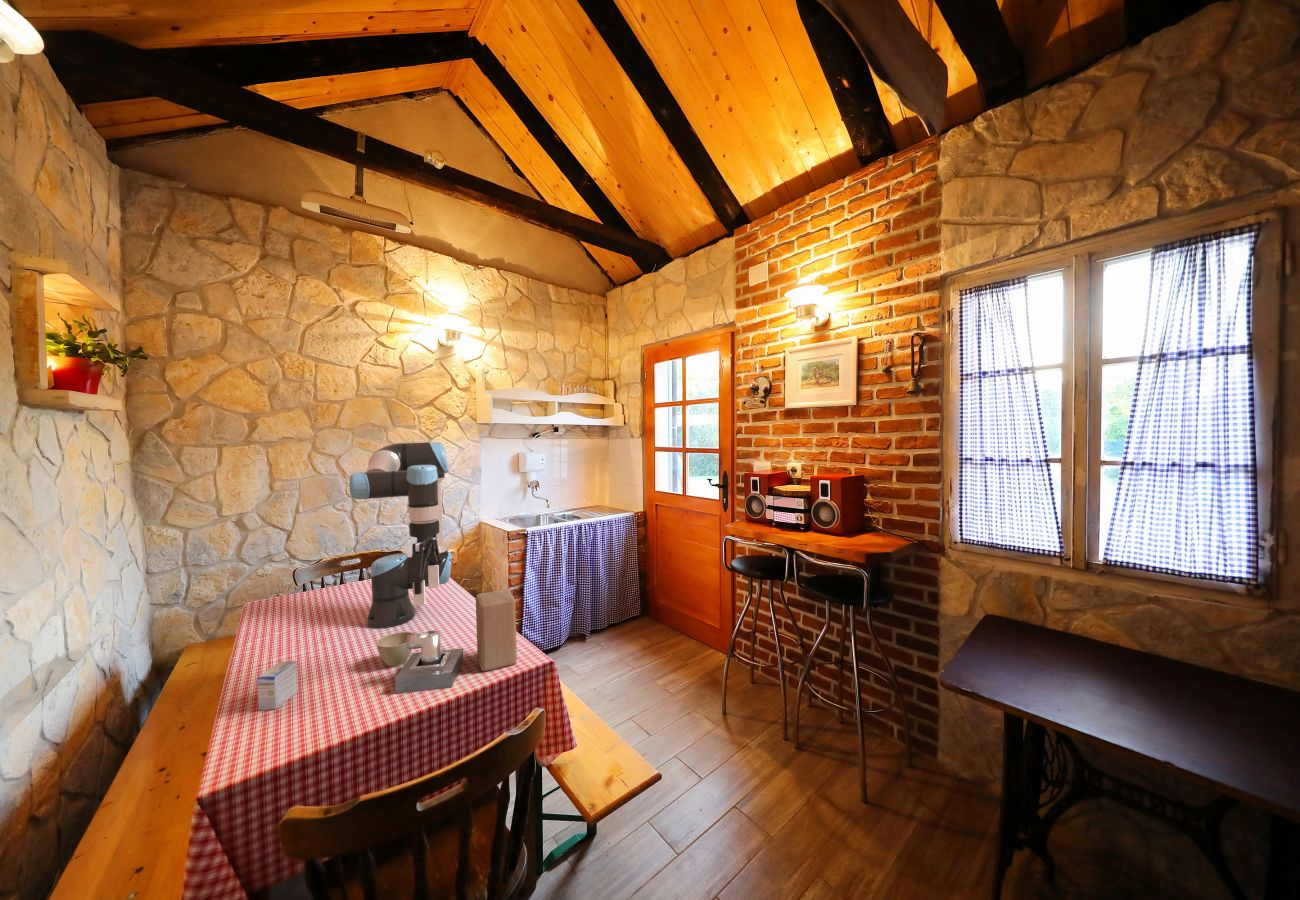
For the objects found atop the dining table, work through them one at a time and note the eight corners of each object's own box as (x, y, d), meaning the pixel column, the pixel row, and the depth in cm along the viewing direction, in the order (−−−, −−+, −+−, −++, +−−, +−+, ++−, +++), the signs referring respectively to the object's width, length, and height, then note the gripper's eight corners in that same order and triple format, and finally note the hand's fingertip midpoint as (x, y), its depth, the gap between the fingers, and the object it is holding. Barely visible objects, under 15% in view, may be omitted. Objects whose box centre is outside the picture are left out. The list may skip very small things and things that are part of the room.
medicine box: (280, 693, 122) (279, 661, 122) (298, 691, 122) (297, 660, 122) (258, 711, 114) (256, 677, 114) (277, 709, 115) (275, 676, 114)
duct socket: (413, 666, 135) (412, 650, 134) (463, 661, 137) (462, 645, 137) (395, 693, 121) (394, 675, 121) (451, 687, 123) (451, 669, 123)
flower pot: (399, 672, 131) (398, 648, 131) (369, 669, 134) (368, 645, 133) (423, 655, 141) (422, 632, 141) (395, 652, 143) (394, 630, 143)
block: (481, 673, 130) (479, 604, 129) (477, 658, 139) (475, 593, 138) (517, 664, 135) (515, 597, 134) (511, 650, 144) (509, 587, 143)
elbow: (443, 670, 132) (442, 628, 131) (439, 679, 127) (437, 635, 127) (413, 673, 131) (411, 630, 130) (407, 683, 126) (405, 638, 125)
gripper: (423, 513, 139) (426, 581, 140) (393, 531, 115) (396, 614, 116) (449, 511, 140) (452, 580, 142) (425, 530, 116) (428, 612, 117)
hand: (427, 595), depth 129 cm, fingers open, 13 cm apart
